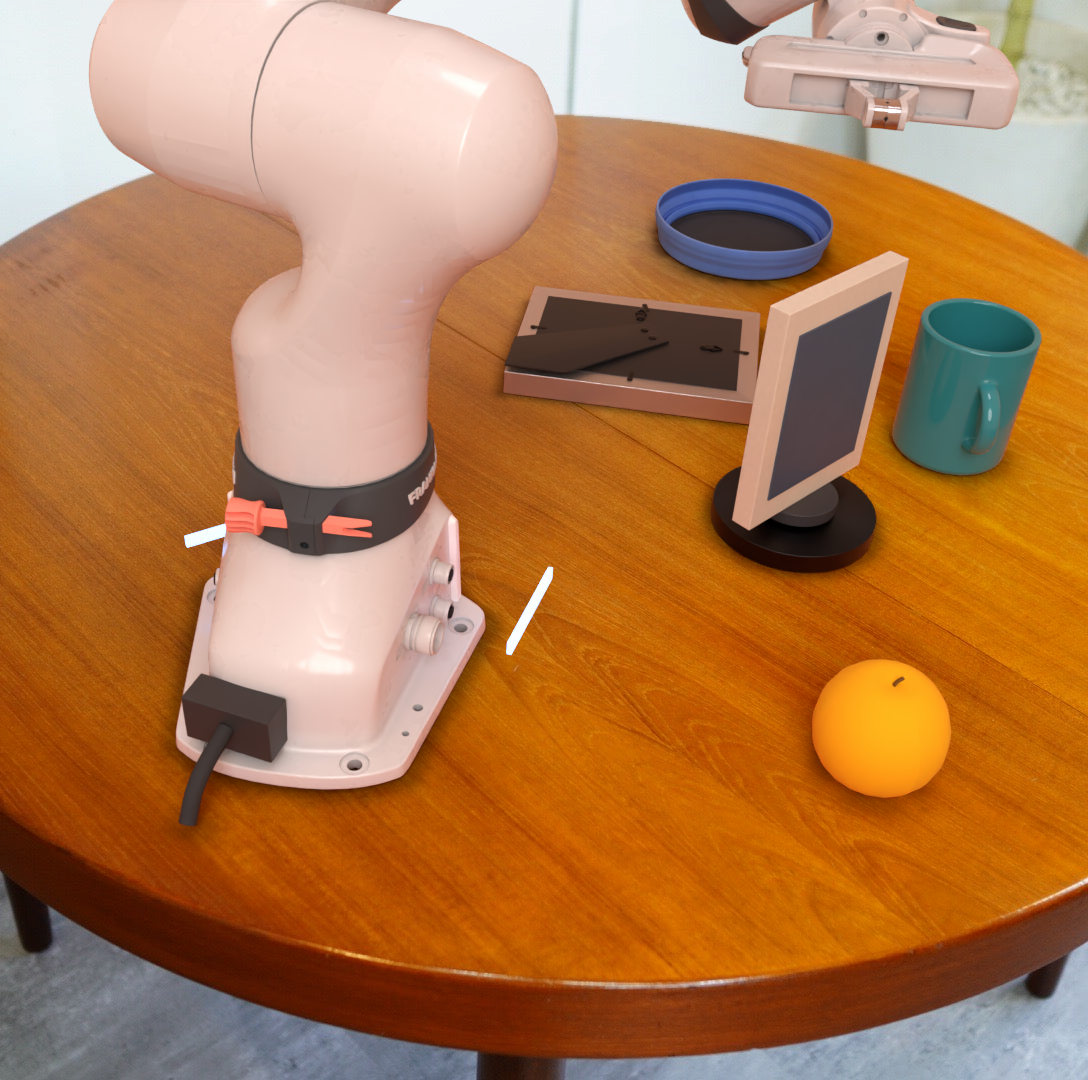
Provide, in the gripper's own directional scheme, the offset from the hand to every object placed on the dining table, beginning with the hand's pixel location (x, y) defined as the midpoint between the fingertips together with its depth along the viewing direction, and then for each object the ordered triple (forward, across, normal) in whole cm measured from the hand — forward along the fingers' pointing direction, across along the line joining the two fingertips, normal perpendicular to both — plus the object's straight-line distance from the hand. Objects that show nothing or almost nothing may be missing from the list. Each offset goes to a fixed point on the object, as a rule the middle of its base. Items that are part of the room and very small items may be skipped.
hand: (886, 119), depth 95 cm
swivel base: (+16, -3, +25) cm, 30 cm away
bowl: (-31, -7, +25) cm, 41 cm away
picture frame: (-5, -16, +25) cm, 30 cm away
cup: (+4, +10, +25) cm, 28 cm away
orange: (+40, +1, +25) cm, 47 cm away
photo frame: (+16, -3, +23) cm, 28 cm away
